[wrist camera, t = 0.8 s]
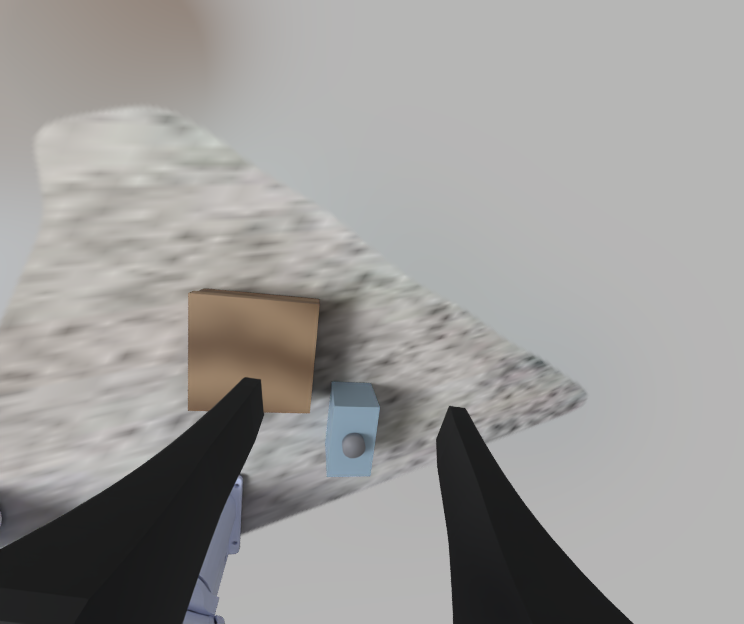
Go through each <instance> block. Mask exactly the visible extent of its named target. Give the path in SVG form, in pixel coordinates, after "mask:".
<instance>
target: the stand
mask: <svg viewBox="0 0 744 624" xmlns="http://www.w3.org/2000/svg"><path fill="white" fill-rule="evenodd" d="M319 305H320V302H319V299H314V298H303V297H292V296H281V295H270V294H259V293H248V292H237V291H226V290H215V289H202V290H200V291H192V292H190V293H188V411H209V410H210V409H212V408H213V407H214V406H215V405H216V404H217V403H218V402H219V401H220V400H221V399H222V398H223V397H224V396H225V395H226V394H227V393H228V392H229V391H230V390H231V389H232V388H233V387H234V386H235V385H237V384H238V383H239V382H240V381H241V380H242V379H243V378H244V377H249V378H256V379H261V385H262V398H263V410H264V412H271V413H310V404H311V393H312V382H313V371H314V360H315V349H316V338H317V327H318V316H319Z"/></svg>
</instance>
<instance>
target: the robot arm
mask: <svg viewBox="0 0 744 624" xmlns="http://www.w3.org/2000/svg"><path fill="white" fill-rule="evenodd" d="M263 416H264V410H263V398H262V385H261V379H256V378H249V377H244V378H243V379H242V380H241V381H240V382H239V383H238V384H237V385H235V386H234V387H233V388H232V389H231V390H230V391H229V392H228V393H227V394H226V395H225V396H224V397H223V398H222V399H221V400H220V401H219V402H218V403H217V404H216V405H215V406H214V407H213V408H212V409H210V410H209V411H208V412H207V413H206V414H205V415H204V416H203V417H202V418H200V419H199V420H198V421H197V422H196V423H195V424H194V425H193V426H191V427H190V428H189V429H188V430H187V431H185V432H184V433H183V434H182V435H181V436H179V437H178V438H177V439H176V440H174V441H173V442H172V443H171V444H169V445H168V446H167V447H166V448H164V449H163V450H162V451H160V452H159V453H158V454H156V455H155V456H154V457H152V458H151V459H150V460H148V461H147V462H146V463H144V464H143V465H141V466H140V467H139V468H137V469H136V470H134V471H133V472H131V473H130V474H128V475H127V476H125V477H124V478H122V479H121V480H119V481H118V482H116V483H115V484H113V485H112V486H110V487H109V488H107V489H106V490H104V491H103V492H101V493H99V494H98V495H96V496H94V497H93V498H91V499H89V500H88V501H86V502H84V503H83V504H81V505H79V506H78V507H76V508H74V509H73V510H71V511H69V512H68V513H66V514H64V515H63V516H61V517H59V518H57V519H56V520H54V521H52V522H50V523H48V524H47V525H45V526H43V527H41V528H39V529H37V530H35V531H34V532H32V533H30V534H28V535H26V536H24V537H23V538H21V539H19V540H17V541H15V542H13V543H11V544H10V545H8V546H6V547H4V548H2V549H0V624H225V622H224V619H223V617H221V616H218V615H216V616H215V612H216V608H217V605H218V601H219V597H217V593H218V590H219V586H220V582H221V578H222V575H223V572H224V568H225V564H226V561H227V557H228V554H236V553H238V552H239V549H240V532H241V510H242V488H243V478H242V476H240V475H239V474H240V472H241V470H242V468H243V466H244V464H245V462H246V459H247V457H248V455H249V453H250V451H251V449H252V447H253V444H254V442H255V440H256V437H257V434H258V431H259V428H260V425H261V422H262V419H263ZM436 448H437V468H438V475H439V481H440V488H441V494H442V500H443V507H444V513H445V520H446V527H447V534H448V542H449V555H450V570H451V587H452V605H453V624H633V623H632V622H631V621H630V620H629V619H628V618H627V617H626V616H625V615H624V614H623V613H622V612H621V611H620V610H619V609H618V608H617V607H615V605H614V604H612V602H611V601H609V600H608V599H607V598H606V597H605V596H604V595H603V593H602V592H600V590H598V588H597V587H596V586H595V585H594V584H593V583H592V582H591V581H590V580H589V579H588V578H587V577H586V576H585V575H584V574H583V573H582V572H581V570H580V569H579V568H578V567H577V566H576V565H575V564H574V563H573V561H572V560H571V559H570V558H569V557H568V556H567V555H566V554H565V552H564V551H563V550H562V549H561V548H560V547H559V546H558V544H557V543H556V542H555V541H554V540H553V539H552V538H551V536H550V535H549V534H548V533H547V532H546V530H545V529H544V528H543V527H542V525H541V524H540V523H539V522H538V520H537V519H536V518H535V516H534V515H533V514H532V513H531V511H530V510H529V509H528V507H527V506H526V505H525V503H524V502H523V501H522V499H521V498H520V496H519V495H518V494H517V492H516V491H515V489H514V488H513V486H512V485H511V483H510V482H509V481H508V479H507V478H506V476H505V475H504V473H503V472H502V470H501V468H500V467H499V465H498V464H497V462H496V460H495V459H494V457H493V456H492V454H491V452H490V451H489V449H488V447H487V446H486V444H485V442H484V441H483V439H482V437H481V435H480V434H479V432H478V430H477V428H476V426H475V425H474V423H473V421H472V419H471V417H470V416H469V414H468V412H467V410H466V409H465V408H460V407H453V406H449V408H448V410H447V413H446V415H445V418H444V421H443V423H442V426H441V428H440V431H439V433H438V436H437V439H436ZM235 484H239V485H235Z"/></svg>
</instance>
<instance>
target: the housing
mask: <svg viewBox="0 0 744 624" xmlns="http://www.w3.org/2000/svg"><path fill="white" fill-rule="evenodd" d="M379 411H380V406H379V404H378V401H377V398H376V396H375V393H374V390H373V388H372V385H371V383H357V382H333V381H332V384H331V394H330V403H329V413H328V423H327V432H326V442H325V446H326V468H327V477H349V476H370V475H371V468H372V460H373V453H374V446H375V439H376V432H377V425H378V418H379Z"/></svg>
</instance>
